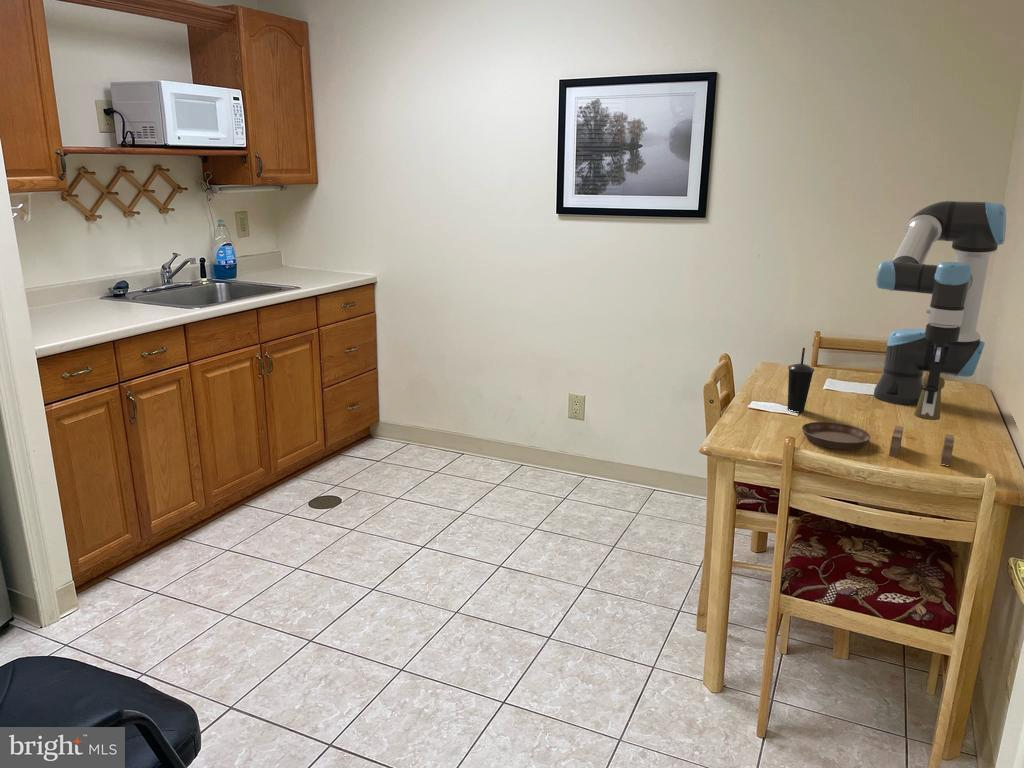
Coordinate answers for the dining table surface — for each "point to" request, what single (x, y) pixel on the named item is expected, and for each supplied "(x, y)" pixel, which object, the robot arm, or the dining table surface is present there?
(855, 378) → the dining table surface
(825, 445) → the plant saucer
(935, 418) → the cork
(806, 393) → the drinking cup
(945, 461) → the wooden bookends
